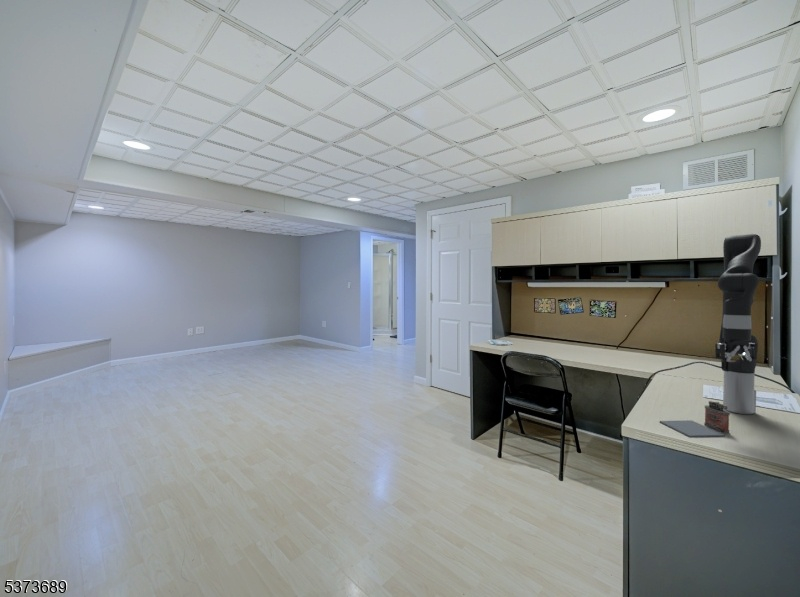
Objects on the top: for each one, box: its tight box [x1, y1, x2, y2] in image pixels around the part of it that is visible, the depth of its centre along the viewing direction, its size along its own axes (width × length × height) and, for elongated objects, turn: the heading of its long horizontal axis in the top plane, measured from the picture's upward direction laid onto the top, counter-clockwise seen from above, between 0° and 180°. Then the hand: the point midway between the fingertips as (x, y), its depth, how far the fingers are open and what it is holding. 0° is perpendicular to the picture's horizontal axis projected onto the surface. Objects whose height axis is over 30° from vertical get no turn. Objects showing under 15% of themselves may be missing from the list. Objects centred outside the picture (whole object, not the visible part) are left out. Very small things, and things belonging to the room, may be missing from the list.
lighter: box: [703, 400, 731, 434], centre depth 124 cm, size 8×3×10 cm, turn 5°
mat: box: [659, 419, 726, 438], centre depth 124 cm, size 13×13×1 cm
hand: (735, 370), depth 124 cm, fingers open, 7 cm apart
